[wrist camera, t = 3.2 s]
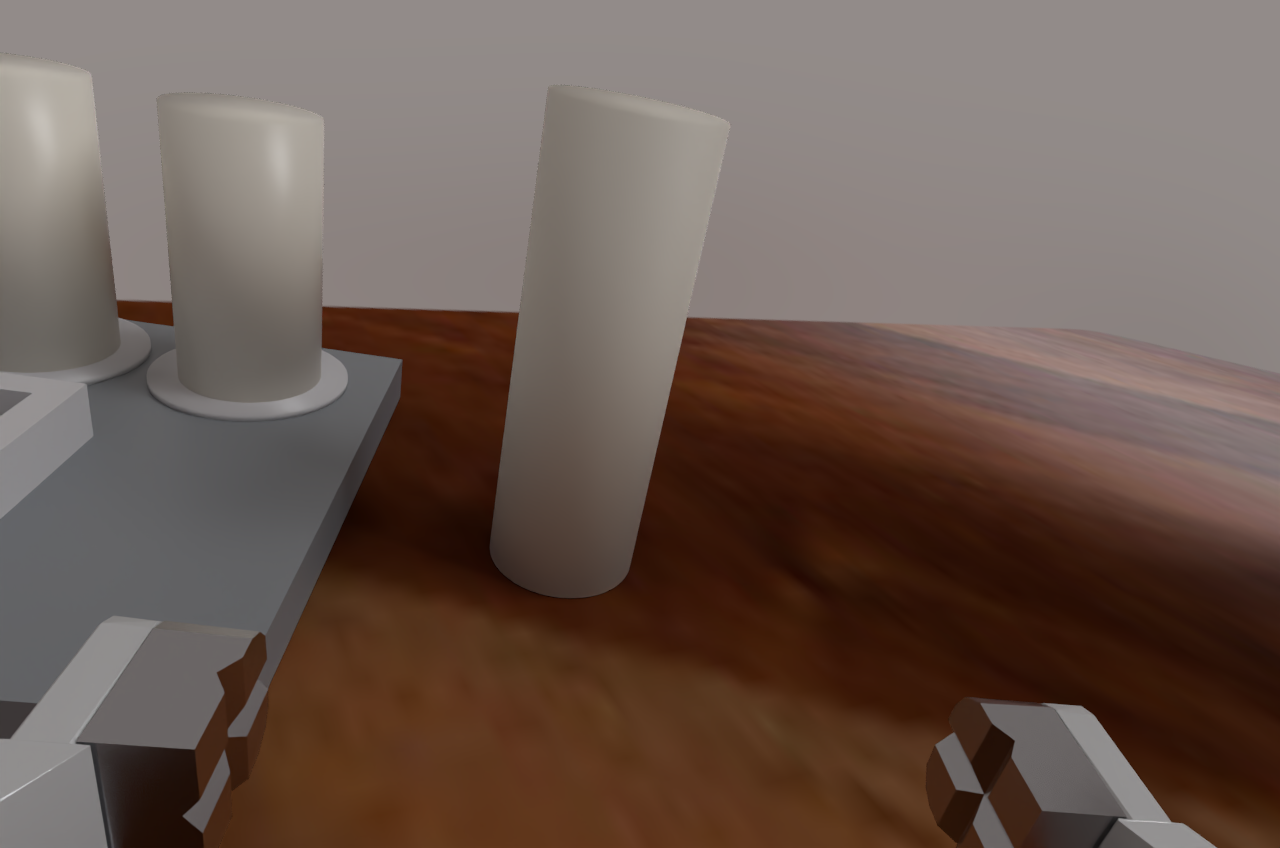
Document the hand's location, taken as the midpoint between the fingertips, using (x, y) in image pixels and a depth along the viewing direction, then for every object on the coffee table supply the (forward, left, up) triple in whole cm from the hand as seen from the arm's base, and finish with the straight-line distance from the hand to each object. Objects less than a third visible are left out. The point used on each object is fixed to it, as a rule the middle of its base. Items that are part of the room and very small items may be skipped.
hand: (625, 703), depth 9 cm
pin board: (+13, -12, -7) cm, 19 cm away
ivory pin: (0, -12, -7) cm, 13 cm away
